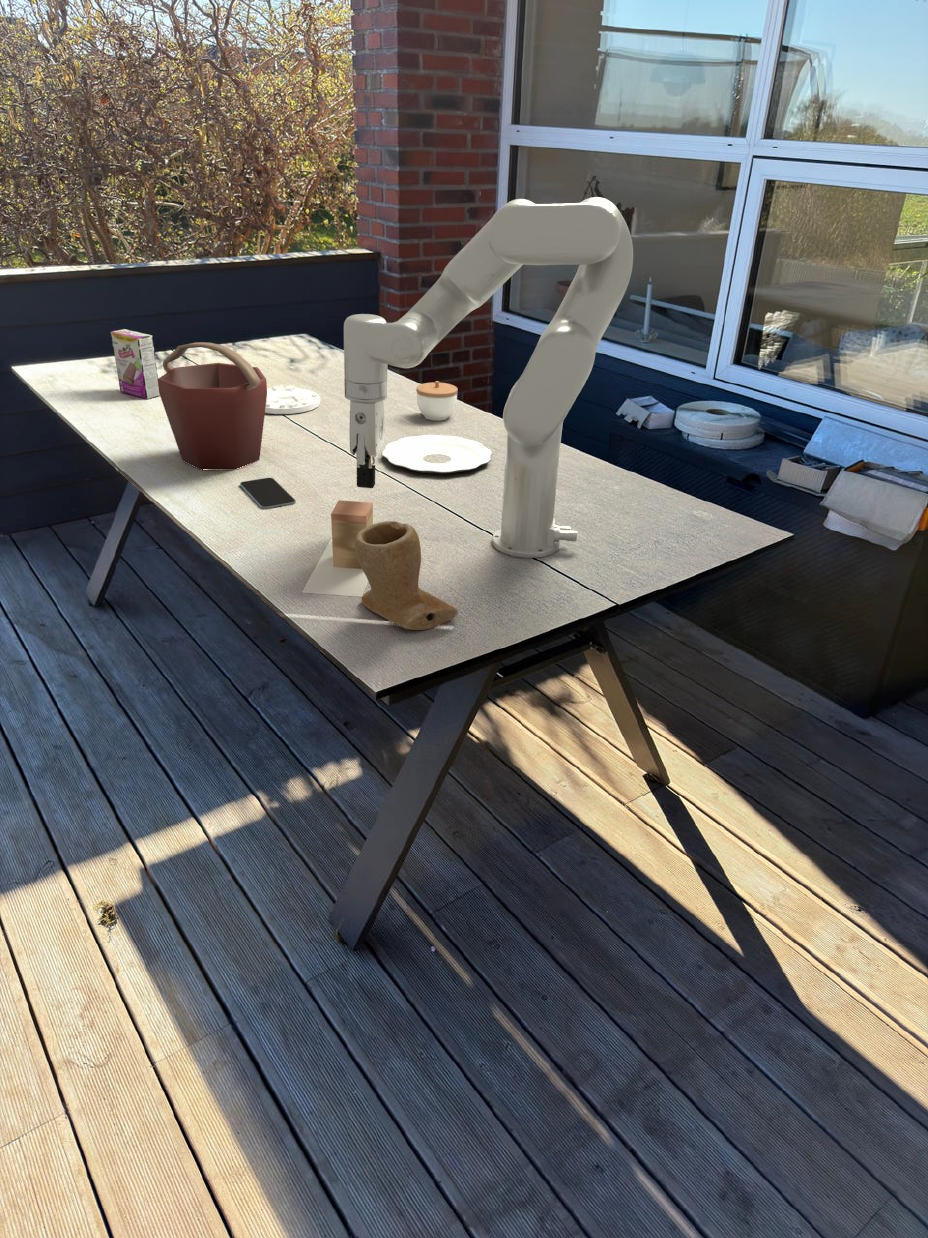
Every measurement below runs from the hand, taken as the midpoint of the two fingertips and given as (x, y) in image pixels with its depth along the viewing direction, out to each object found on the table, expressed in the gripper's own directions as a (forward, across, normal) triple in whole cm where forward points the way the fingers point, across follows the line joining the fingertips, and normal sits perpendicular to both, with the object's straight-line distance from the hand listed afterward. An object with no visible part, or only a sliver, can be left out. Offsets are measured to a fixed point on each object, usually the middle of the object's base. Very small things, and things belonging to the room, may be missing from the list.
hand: (365, 485), depth 166 cm
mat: (+9, -17, 0) cm, 19 cm away
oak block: (+8, -15, -1) cm, 17 cm away
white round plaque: (+10, +77, +37) cm, 86 cm away
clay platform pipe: (+9, -32, -12) cm, 35 cm away
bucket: (+10, +34, +39) cm, 53 cm away
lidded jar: (+9, +74, -5) cm, 75 cm away
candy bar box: (+11, +78, +77) cm, 110 cm away
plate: (+9, +42, -9) cm, 44 cm away
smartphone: (+10, +14, +23) cm, 29 cm away
